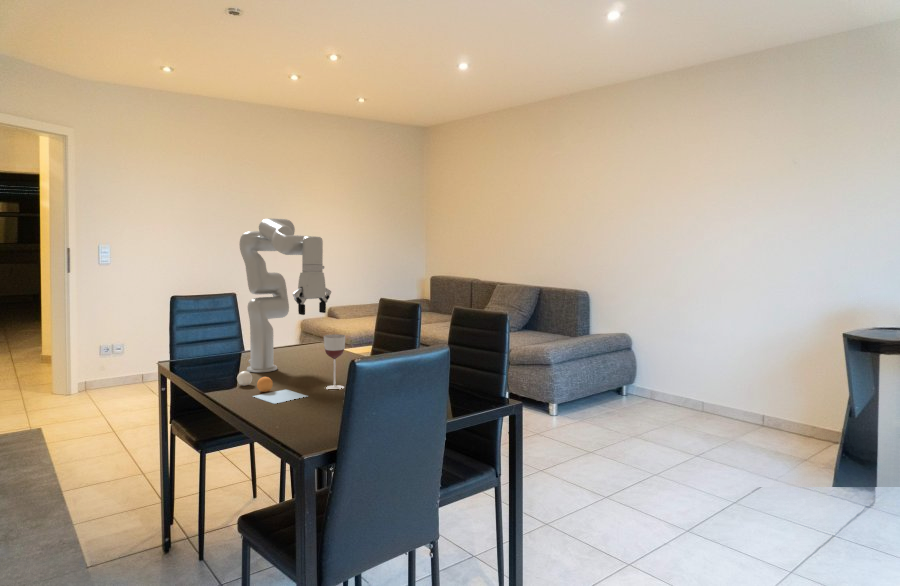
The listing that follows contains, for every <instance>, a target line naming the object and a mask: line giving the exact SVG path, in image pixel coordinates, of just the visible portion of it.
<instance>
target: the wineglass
mask: <svg viewBox="0 0 900 586" xmlns="http://www.w3.org/2000/svg"><path fill="white" fill-rule="evenodd" d="M323 344H324V345H323V346H324V351H325V354H326V355H327V357H330V358H331V359H333V385H327V387H326V386H325V387H326V389H325V390H328V389H339V390H342V389H344V388H345V386H343V385H340V384H339V385H338V384H337V385H336V381H337V380H336V375H337V374H336V373H337V371H336V369H337V367H336V359H337V358H339V357H340V356H342V355H343V354H344V351H345V348H346V347H345V346H346V335H345V334H335V333H334V334H325V335H323ZM341 388H342V389H341Z"/></svg>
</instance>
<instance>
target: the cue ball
mask: <svg viewBox="0 0 900 586" xmlns="http://www.w3.org/2000/svg"><path fill="white" fill-rule="evenodd" d="M236 380H237V383H238V385H240V386H243V387H245V386H249V385H251V383H252V381H253V375H252V372H249V371H247V370H244V371H243V370H242V371H240V372H238V373H237V377H236Z"/></svg>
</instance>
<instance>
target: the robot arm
mask: <svg viewBox="0 0 900 586" xmlns="http://www.w3.org/2000/svg"><path fill="white" fill-rule="evenodd" d="M295 232H296V229H295V225H294V223H293V222H292V221H291V220H289V219H286V218H272V217H271V218H264V219H262V221H260V222H259V224H258V230H252V231H246V232H244V233H242V235H240V239H239V251H240V254H241V257H242V259H243V262H244V265H245V272H246V280H247V286H248V291H249V292H250V294H252V295H257V296H259V295H271V296H261V297H255V298H252V299H250V300H249V301H248V304H247V313H248V321H249V327H250V328H249V330H250V333H249V334H250V336H249V338H250V339H249V340H250V359H248V360H247V362H248V363H249V364H250V365H249V366H247V367H246V371H248V372H250V373H257V374H258V373H270V372H274V371H277V370H278V366H277V365H276V364H274V328H273V325H272V324H271V323H270V321H269V320H273V319H281V318H285V317H287V316H288V315H289V312H290V310H289V309H290V303H289V296H288V289H287V283H286V279H285V277H284V275H282V273H280V272H268V270H267V269H268V268H267V264H266V261H265V259H264V257H263V256H262V255H261V254H260V253H259V252H278V253H280V254H283V255H285V256H302V260H301V261H302V264H301V265H302V266H301V267H302V271H301V272H300V273H299V277H298V284H297V286H298V287H297V289H296V290H295V291H294V292H292V293H291V294H292V296H293V299H294V301H295V302H296V304H298V306H297V307H298V309H297V310H298V311H297V312H298V315H301V316H305V315H306V304H305V302H307V300H314V299H315V300H317V299H318V300H319V302H318V304H319V305H318V307H319V308H318V309H319V310H318V311H319V313H322V314H326V312H327V311H326V310H327V303H328V300H329V299H330V296H331V293H332V290H330V289H329V288H327V287H326V278H325V273H324V272H323V271H324V269H325V266H324V264H323V259H324V258H323V256H324V255H323V253H324V250H323V247H324V241H323V238H322V237H321V236H313V235H312V236H309V235H295Z"/></svg>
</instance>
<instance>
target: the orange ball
mask: <svg viewBox="0 0 900 586" xmlns="http://www.w3.org/2000/svg"><path fill="white" fill-rule="evenodd" d="M273 385H274V383H273V380H272V379H271V378H270V377H269V376H263V377H260V378H259V379H258V380H257V383H256V387H257V390H259V392H262V393H269V392H270V391H271V390H272V389H273Z"/></svg>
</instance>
